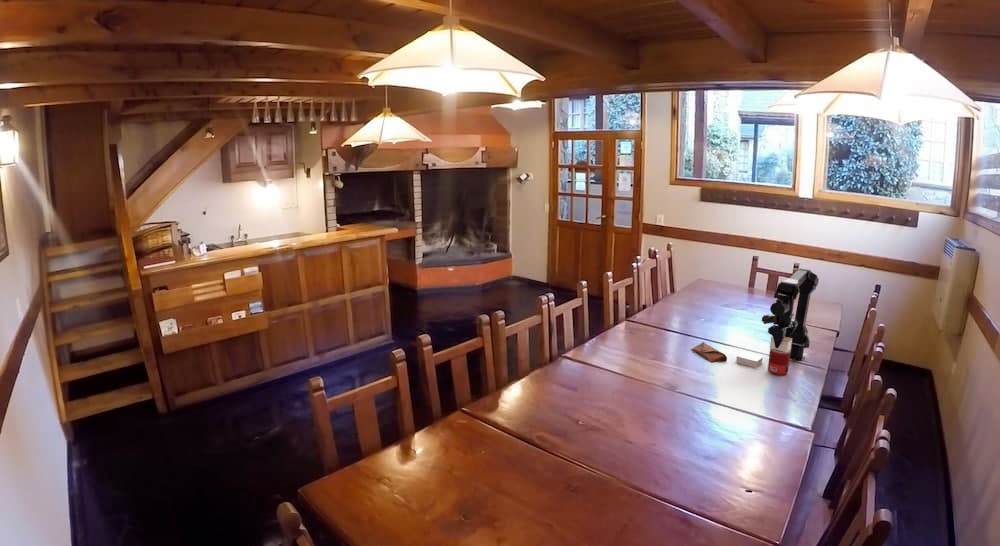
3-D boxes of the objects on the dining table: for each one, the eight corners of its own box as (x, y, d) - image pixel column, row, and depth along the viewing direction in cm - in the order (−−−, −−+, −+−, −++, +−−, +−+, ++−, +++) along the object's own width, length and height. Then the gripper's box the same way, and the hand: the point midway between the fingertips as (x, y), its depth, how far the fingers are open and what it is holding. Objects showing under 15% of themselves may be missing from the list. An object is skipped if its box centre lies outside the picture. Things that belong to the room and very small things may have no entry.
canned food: (789, 376, 253) (792, 352, 251) (769, 375, 255) (772, 351, 252) (785, 369, 260) (788, 346, 258) (765, 368, 262) (768, 344, 259)
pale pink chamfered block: (742, 358, 273) (742, 352, 273) (762, 363, 267) (762, 357, 266) (736, 362, 268) (736, 356, 268) (756, 367, 262) (756, 361, 262)
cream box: (773, 345, 259) (775, 334, 258) (790, 349, 254) (792, 338, 253) (769, 348, 256) (770, 337, 254) (786, 352, 251) (788, 341, 250)
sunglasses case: (688, 349, 284) (695, 337, 283) (698, 354, 286) (705, 343, 286) (711, 363, 267) (719, 350, 266) (722, 369, 270) (729, 356, 269)
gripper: (773, 302, 263) (769, 335, 267) (757, 311, 250) (753, 346, 254) (800, 307, 255) (795, 341, 259) (785, 317, 242) (780, 352, 246)
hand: (780, 345), depth 255 cm, fingers open, 9 cm apart
